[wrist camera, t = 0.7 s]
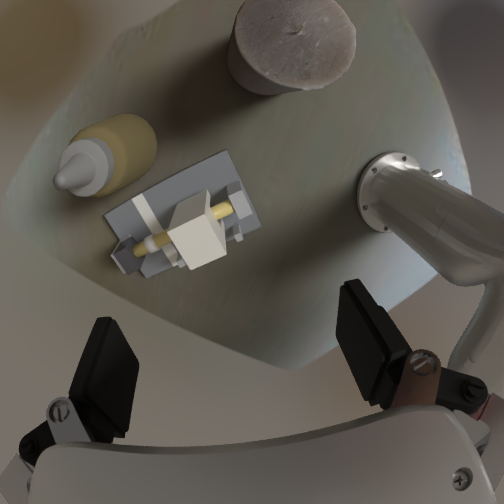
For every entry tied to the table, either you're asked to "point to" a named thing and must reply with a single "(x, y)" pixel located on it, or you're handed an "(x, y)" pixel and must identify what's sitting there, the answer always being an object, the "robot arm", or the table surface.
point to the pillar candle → (289, 45)
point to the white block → (197, 231)
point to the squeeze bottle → (107, 156)
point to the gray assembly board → (163, 207)
